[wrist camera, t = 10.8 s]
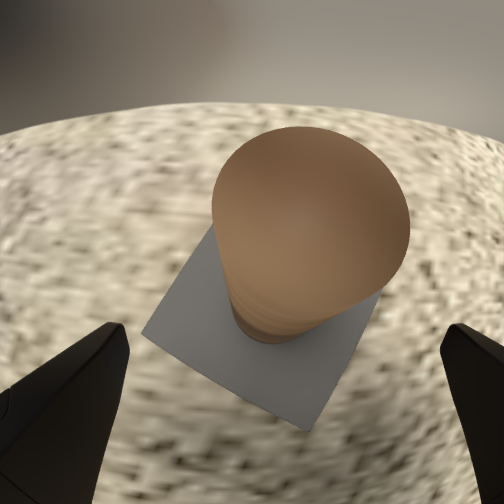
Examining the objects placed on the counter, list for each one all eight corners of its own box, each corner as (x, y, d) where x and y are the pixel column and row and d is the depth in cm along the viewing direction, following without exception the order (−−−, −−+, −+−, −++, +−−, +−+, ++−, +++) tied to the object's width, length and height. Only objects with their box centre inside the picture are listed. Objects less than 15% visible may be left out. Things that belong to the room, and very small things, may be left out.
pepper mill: (288, 358, 18) (366, 348, 6) (216, 317, 19) (169, 236, 7) (325, 289, 19) (427, 182, 8) (257, 250, 20) (274, 103, 8)
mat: (308, 430, 17) (309, 431, 16) (142, 334, 18) (140, 333, 18) (388, 269, 20) (390, 268, 20) (239, 188, 22) (239, 185, 22)
